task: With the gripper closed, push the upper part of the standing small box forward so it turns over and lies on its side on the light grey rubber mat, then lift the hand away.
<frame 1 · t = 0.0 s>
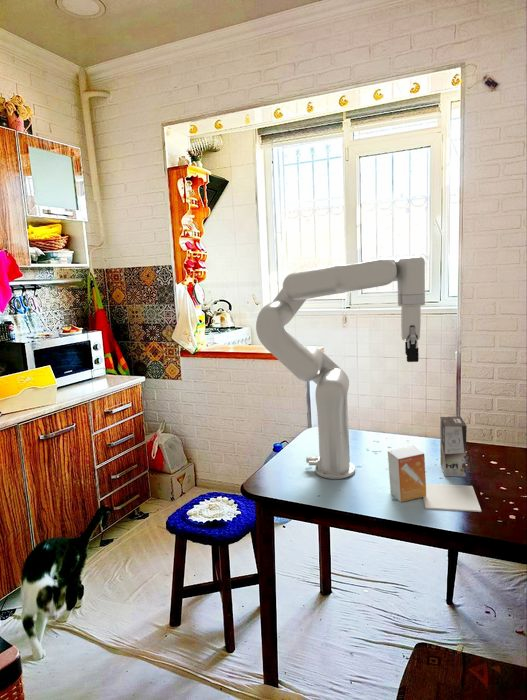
hand: (411, 358, 147), 37 cm above the table, tool pointing down, fingers open, 9 cm apart
coffee box: (452, 470, 155), on the table
small box: (408, 495, 141), on the table, touching mat
mat: (449, 497, 138), on the table
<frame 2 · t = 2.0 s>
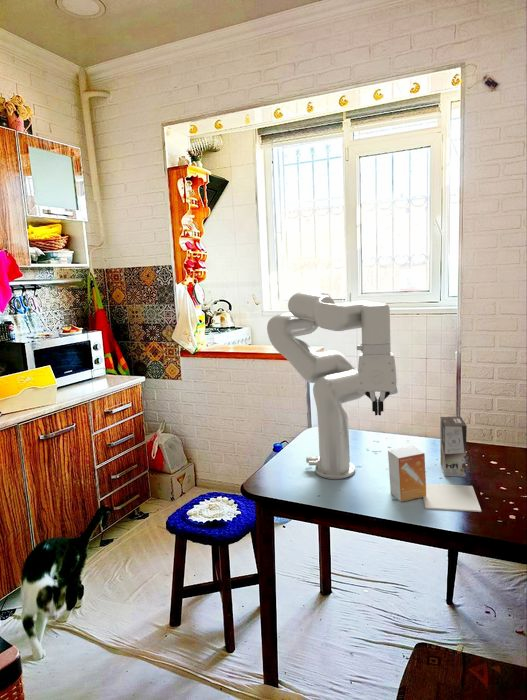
hand: (378, 413, 138), 24 cm above the table, tool pointing down, fingers closed
nothing on the table moved.
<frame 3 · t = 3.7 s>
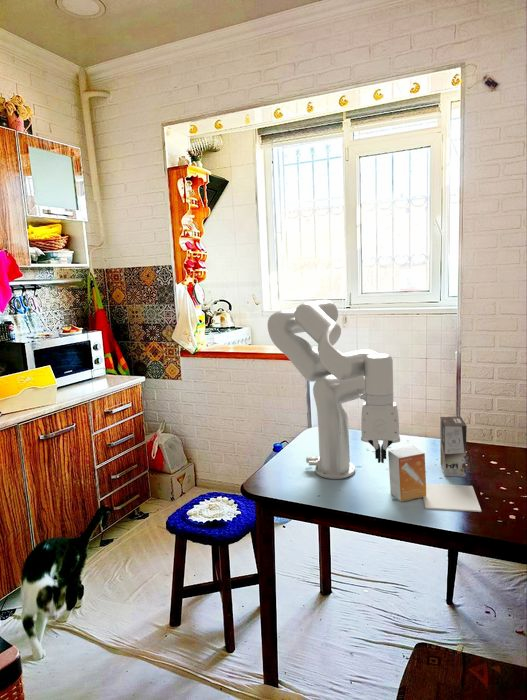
hand: (380, 460, 141), 10 cm above the table, tool pointing down, fingers closed
small box: (408, 495, 141), on the table, touching gripper, mat
everything else where it was.
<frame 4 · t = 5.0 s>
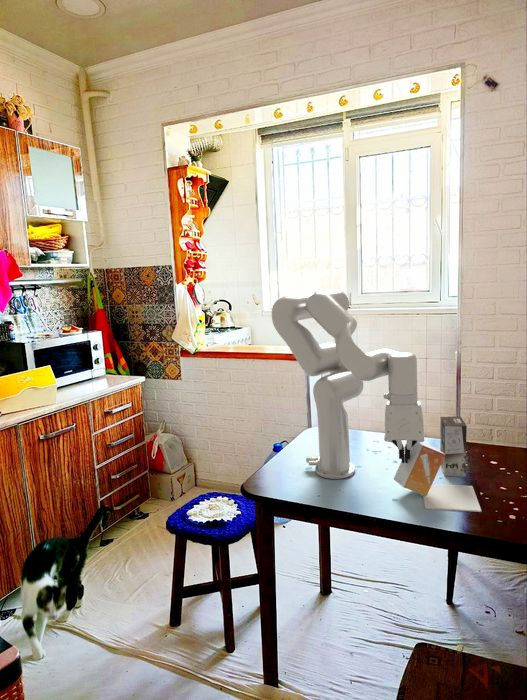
hand: (404, 461, 139), 10 cm above the table, tool pointing down, fingers closed
small box: (409, 488, 141), point 2 cm above the table, touching gripper, mat
everything else where it was.
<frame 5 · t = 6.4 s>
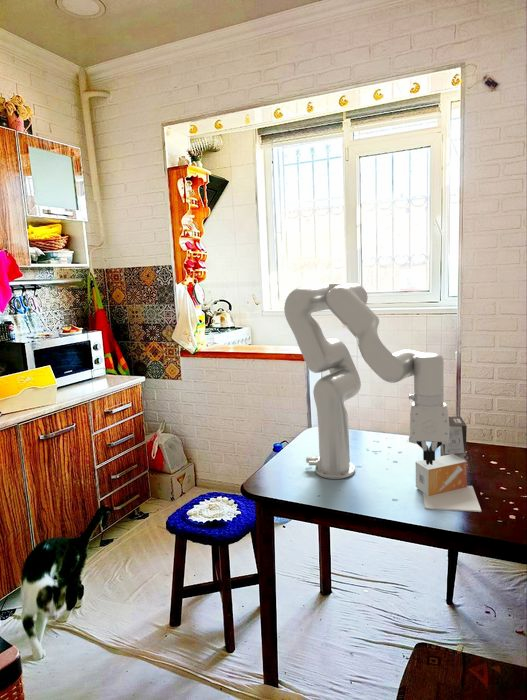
hand: (429, 462, 138), 10 cm above the table, tool pointing down, fingers closed
small box: (421, 479, 141), point 4 cm above the table, touching mat
everything else where it was.
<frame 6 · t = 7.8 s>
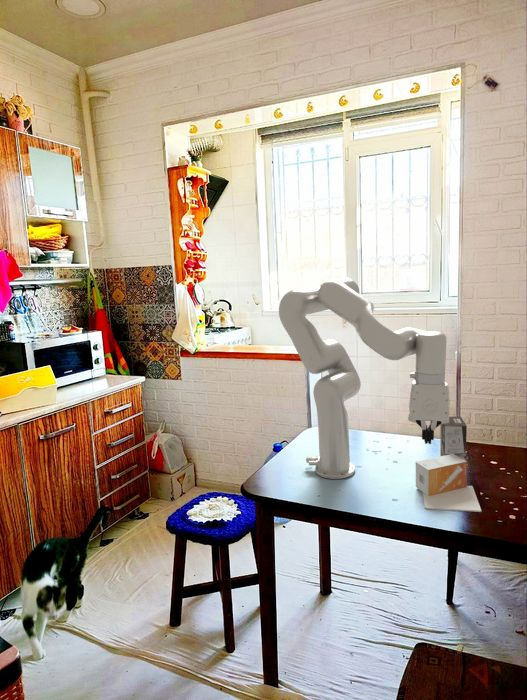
hand: (427, 441, 137), 16 cm above the table, tool pointing down, fingers closed
nothing on the table moved.
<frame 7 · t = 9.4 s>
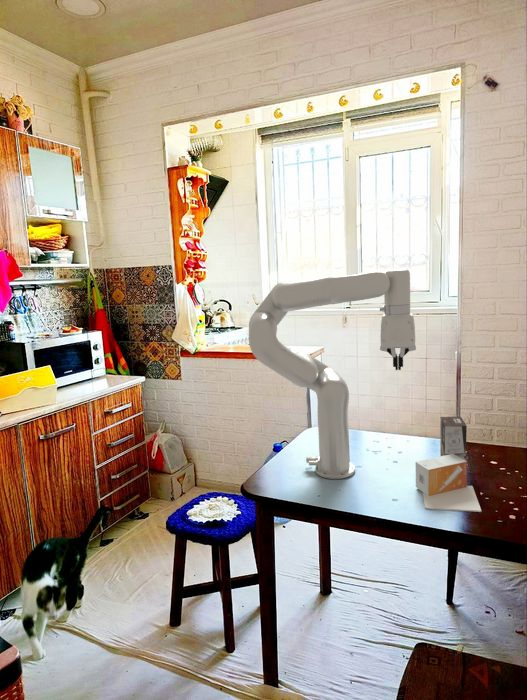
hand: (398, 369, 154), 32 cm above the table, tool pointing down, fingers closed
nothing on the table moved.
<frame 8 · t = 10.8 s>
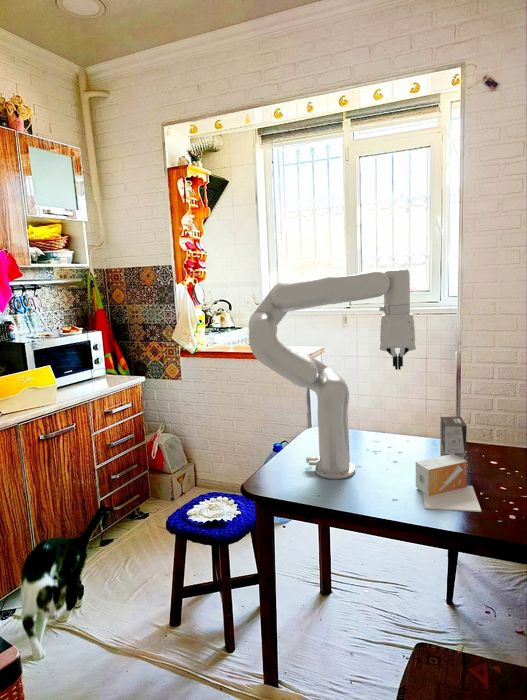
hand: (397, 368, 154), 32 cm above the table, tool pointing down, fingers closed
nothing on the table moved.
at the end: small box tilted 90°; small box touching mat; small box inside the target area (4.3 cm from its centre), point 4.4 cm above the table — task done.
